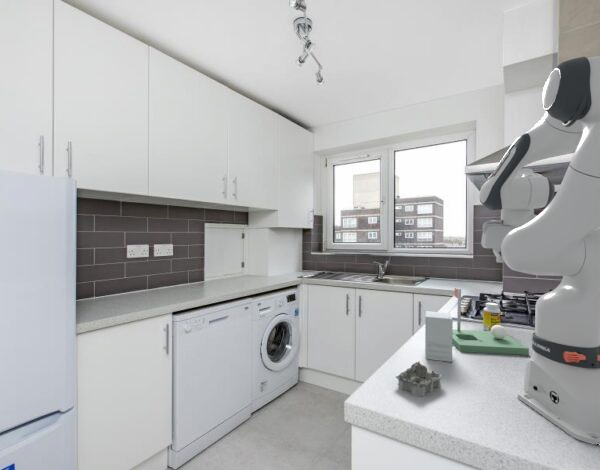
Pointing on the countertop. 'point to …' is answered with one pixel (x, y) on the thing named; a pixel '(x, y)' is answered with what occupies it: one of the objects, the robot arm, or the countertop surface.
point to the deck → (483, 339)
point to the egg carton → (418, 380)
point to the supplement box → (438, 336)
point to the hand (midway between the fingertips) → (515, 262)
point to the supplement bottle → (491, 316)
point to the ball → (498, 332)
